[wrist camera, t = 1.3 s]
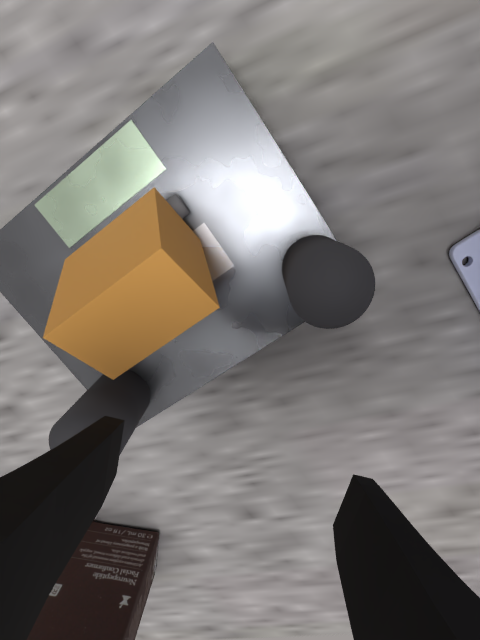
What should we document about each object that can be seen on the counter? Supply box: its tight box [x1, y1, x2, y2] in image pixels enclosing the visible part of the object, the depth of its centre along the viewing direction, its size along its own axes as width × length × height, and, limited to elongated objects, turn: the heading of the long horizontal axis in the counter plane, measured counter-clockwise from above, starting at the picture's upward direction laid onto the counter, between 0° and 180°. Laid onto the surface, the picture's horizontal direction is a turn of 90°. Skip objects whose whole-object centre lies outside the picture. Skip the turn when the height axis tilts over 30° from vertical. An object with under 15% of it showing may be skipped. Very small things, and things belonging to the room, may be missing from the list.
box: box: [27, 522, 159, 640], centre depth 20 cm, size 6×4×12 cm
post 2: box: [282, 235, 375, 329], centre depth 15 cm, size 3×3×4 cm
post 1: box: [49, 370, 150, 456], centre depth 17 cm, size 3×3×4 cm
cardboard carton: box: [43, 187, 220, 380], centre depth 14 cm, size 3×6×6 cm, turn 126°
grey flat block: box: [0, 42, 337, 427], centre depth 19 cm, size 12×15×3 cm
